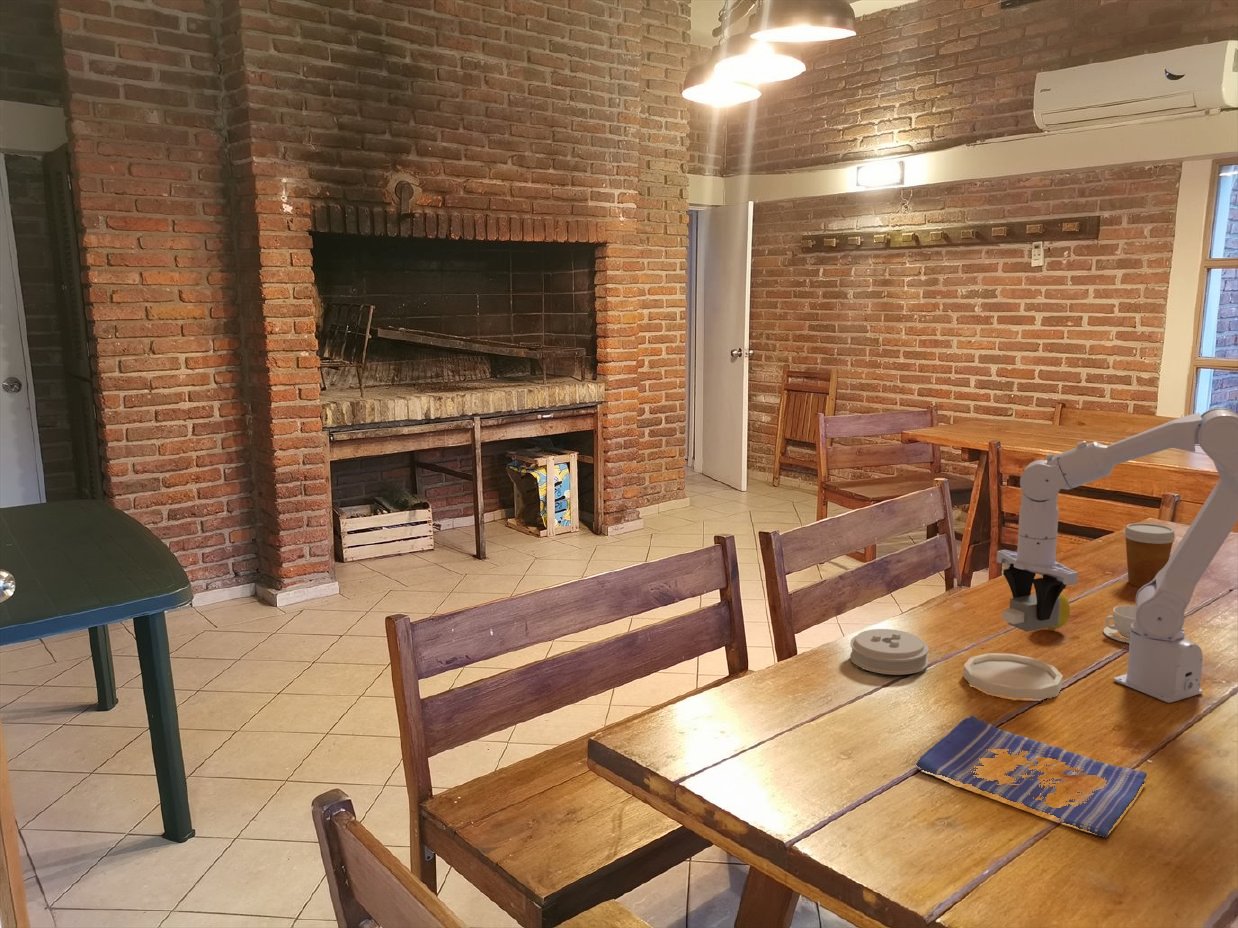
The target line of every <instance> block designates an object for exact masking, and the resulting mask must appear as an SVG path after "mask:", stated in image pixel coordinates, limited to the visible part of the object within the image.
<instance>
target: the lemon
mask: <svg viewBox="0 0 1238 928" xmlns="http://www.w3.org/2000/svg"><path fill="white" fill-rule="evenodd" d="M1059 596H1060V597H1061V605H1060V618H1059V625H1057V626H1052V627H1047V629H1048V630H1049V631H1051V632H1053V631H1055V630H1056V629H1059V628H1061V627H1063V626H1064V625H1066V624H1067V622H1068V620H1069V619H1070V615H1071V609H1070V608H1071V605H1070V601H1069V599H1068V597H1067V596H1066V595H1065V593H1064V592H1061V594H1060V595H1059Z"/></svg>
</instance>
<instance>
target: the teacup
mask: <svg viewBox="0 0 1238 928" xmlns="http://www.w3.org/2000/svg"><path fill="white" fill-rule="evenodd" d="M1136 611H1137V606H1136V605H1117V606H1115V607H1113V609H1112V615H1108V616H1106V617H1105V625H1106V627H1104V628H1103V630H1102V631H1103V634H1104V635H1105V636H1107V637H1109V638H1110V639H1113V640H1116V641H1118V642H1122V643H1125V642H1126V644H1129V642H1130V629H1131V624H1132V623H1133V622H1134V621H1136ZM1110 620H1113V625H1111V624H1109V623H1110V622H1109V621H1110ZM1117 631H1119V632H1117ZM1109 633H1120V634H1121V635H1122V636H1124V637H1126V638H1129V639H1126V638H1120V637H1119V636H1116V635H1112V634H1109Z"/></svg>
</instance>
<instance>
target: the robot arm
mask: <svg viewBox="0 0 1238 928" xmlns="http://www.w3.org/2000/svg"><path fill="white" fill-rule="evenodd" d="M1196 445H1199V447H1200V448H1201V450H1202V451H1203V452H1204V453H1205V454H1206V455H1207V456H1208V458H1210V459H1211V461H1212V462H1213V464H1214V466H1215V468H1216V471H1217V473H1218V475H1219V479H1218V480H1217V482H1216V484H1215V485H1214V487H1213V489H1212V490H1211V492H1210V493H1209V495H1208V497H1206V500H1205V501H1204V503H1203V505H1202V506H1201V507H1200V509H1199V510H1198V512H1197V514H1196V516H1195V517H1194V519H1193V521H1192V522H1191V523H1190V525H1189V527H1188V528H1187V530H1186V531H1185V533H1184V535H1183V537H1182V538H1181V540H1180V541H1179V543H1178V544H1177V545H1176V547H1175V549H1174V551H1173V552H1172V554H1170V555H1171V556H1170V557H1169V560H1168V562H1167V563H1166V565H1165V566H1164V567H1163V568H1162V569H1161V570H1160V571H1159V572H1158V573H1157V575H1156V576H1155V578H1154V579H1153V580H1152V581H1151V582H1150V583H1148V584H1146V585H1144V586H1143V587H1139V589H1138V590H1137V592H1136V595H1135V606H1137V611H1136V621H1134V622H1133V623H1132V624H1131V629H1130V642H1129V643H1128V644H1129V645H1128V657H1127V670H1126V673H1125V674H1121V675H1119V676H1115V677H1113V681H1114V682H1116V683H1119V684H1120V685H1123V686H1126V687H1128V688H1130V689H1133V690H1136V691H1139V693H1140V692H1141V693H1143V694H1146V695H1148V696H1150V697H1153V698H1155V699H1158V700H1160V701H1163V702H1166V703H1169V704H1170V703H1174V702H1177V701H1180V700H1184V699H1187V698H1190V697H1194V696H1196V695H1197V696H1198V695H1200V694H1203V689H1202V688H1201V678H1202V667H1203V651H1202V648H1201V647H1200V646H1199V645H1198V644H1197V643H1195V642H1192V641H1191V640H1189V639H1188V638H1187V637H1186V635H1185V629H1184V628H1183V627H1184V624H1185V611H1186V609H1187V607H1188V606H1189V604H1190V602H1191V600H1192V598H1193V594H1194V591H1195V588H1196V586H1197V584H1198V583H1199V581H1200V580H1201V579H1202V577H1203V575H1204V574H1205V572H1206V571H1207V569H1208V568H1209V566H1210V564H1211V563H1212V562H1213V560H1214V558H1215V556H1216V555H1218V552H1219V551H1220V549H1221V547H1223V545H1224V543H1225V541H1226V540H1227V538H1228V536H1229V535H1230V534H1231V533H1232V530H1233V529H1234V528H1235V525H1236V524H1237V523H1238V412H1236V411H1235V410H1233V409H1229V408H1227V407H1226V408H1225V407H1215V408H1211V409H1208V410H1206V411H1204V412H1203V413H1202V414H1200V412H1198V413H1197V412H1196V413H1192V414H1188V415H1185V416H1181V417H1178V418H1176V419H1172V420H1170V421H1168V422H1165V423H1162V424H1159V425H1157V426H1154V427H1151V428H1149V429H1147V430H1145V431H1142V432H1140V433H1136V434H1134V435H1131V436H1129V437H1126V438H1123V439H1121V440H1118V441H1116V442H1113V443H1111V444H1107V445H1106V444H1102V443H1100V442H1098V441H1091V442H1089V443H1087V441H1086V440H1082V441H1080V442H1077V444H1076V447H1075V448H1071V449H1069V450H1065V451H1064V452H1061V453H1058V454H1055V455H1054V454H1053V453H1049V454H1047V455H1045V460H1044V459H1038V460H1034V461H1032V462H1030V463H1029V464H1027V466H1026V467H1025V469H1023V472H1022V474H1021V475H1020V479H1019V485H1020V486H1019V487H1020V489H1021V491H1022V493H1021V494H1020V502H1021V504H1020V506H1019V517H1018V534H1017V535H1018V536H1017V537H1018V538H1017V551H1012V550H1009V549H1001V550H998V551H996V563H999V564H1007V565H1009V567H1008V568H1005V569H1003V571H1002V573H1003V576H1004V578H1005V580H1006V582H1007V583H1008V586H1009V589H1010V591H1011V596H1012V598H1017V597H1023V596H1028V595H1032V593H1031V592H1032V589H1033V587H1034V592H1035V594H1036V598H1037V620H1040V621H1043V620H1047V619H1050V616H1051V613H1052V610H1053V608H1054V605H1055V603H1056V601H1057V599H1058V597H1059V595H1060V594H1061V593H1063V591H1064V589H1065V588H1066V587H1067V586H1073V585H1077V584H1078V581H1079V579H1078V578H1079V576H1078V575H1079V572H1078V571H1075V570H1073V569H1071V568H1069V567H1067V566H1066V565H1063V564H1062V563H1060V562H1058V561H1057V559H1056V557H1057V543H1058V529H1059V528H1058V527H1059V525H1058V524H1059V514H1060V513H1059V510H1060V509H1059V507H1058V501H1059V500H1058V499H1059V492H1060V490H1071V489H1074V488H1077V487H1081V486H1084V485H1086V484H1089V483H1092V482H1096V481H1098V480H1101V479H1103V478H1106V477H1109V476H1111V474H1112V472H1113V470H1114V468H1115V466H1117V465H1119V464H1120V465H1121V464H1123V463H1126V462H1130V461H1131V460H1136V459H1139V458H1143V457H1146V456H1150V455H1152V454H1155V453H1160V452H1162V451H1165V450H1168V449H1176V450H1181V451H1186V452H1187V451H1188V452H1192V453H1196ZM1036 575H1040V576H1042V577H1038V578H1035V577H1036Z"/></svg>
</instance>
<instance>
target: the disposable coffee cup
mask: <svg viewBox="0 0 1238 928" xmlns="http://www.w3.org/2000/svg"><path fill="white" fill-rule="evenodd" d="M1122 533H1123V534H1124V537H1125V548H1126V549H1125V550H1126V564H1127V577H1128V578H1127V579H1128V583H1129V584H1130V585H1133V586H1135V587H1139V588H1141V587H1143V586H1144V585H1146V584H1148V583H1150V582H1151V581H1152V580H1153V579H1154V578H1155V576H1156V575H1157V573H1158V572H1159V571H1160V570H1161V569H1162V568H1163V567H1164V566H1165V565H1166V563H1167V562H1168V560H1169V559H1170V557H1171V556H1170V555H1171V551H1172V547H1173V543H1174V542H1175V540H1176V539H1177V535H1176V534H1175V530H1174V529H1173V528H1172V527H1169V526H1166V525H1162V524H1156V523H1145V522H1135V523H1128V524H1127V525H1126V527H1125V529H1124V530H1123V532H1122Z"/></svg>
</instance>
